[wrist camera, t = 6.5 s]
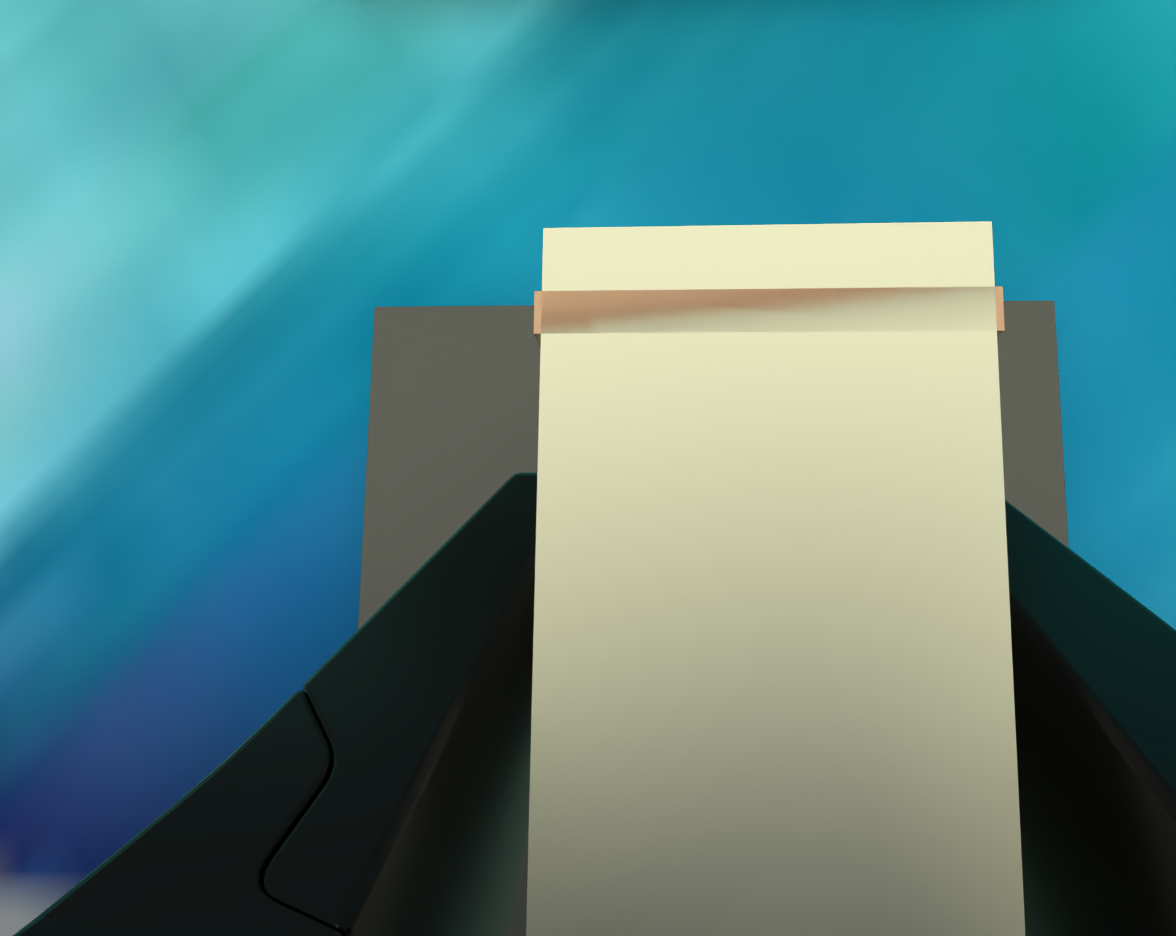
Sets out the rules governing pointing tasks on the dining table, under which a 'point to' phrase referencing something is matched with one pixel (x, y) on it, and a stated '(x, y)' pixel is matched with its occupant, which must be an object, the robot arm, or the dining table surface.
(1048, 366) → the mat
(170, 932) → the robot arm
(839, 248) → the cream pillar
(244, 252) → the dining table surface
